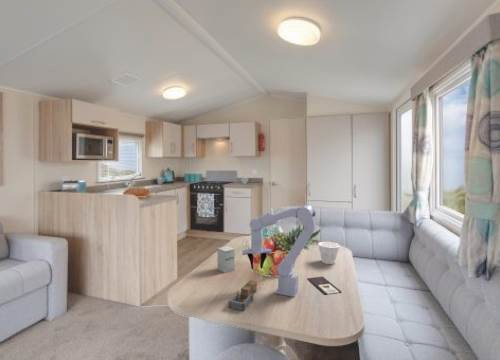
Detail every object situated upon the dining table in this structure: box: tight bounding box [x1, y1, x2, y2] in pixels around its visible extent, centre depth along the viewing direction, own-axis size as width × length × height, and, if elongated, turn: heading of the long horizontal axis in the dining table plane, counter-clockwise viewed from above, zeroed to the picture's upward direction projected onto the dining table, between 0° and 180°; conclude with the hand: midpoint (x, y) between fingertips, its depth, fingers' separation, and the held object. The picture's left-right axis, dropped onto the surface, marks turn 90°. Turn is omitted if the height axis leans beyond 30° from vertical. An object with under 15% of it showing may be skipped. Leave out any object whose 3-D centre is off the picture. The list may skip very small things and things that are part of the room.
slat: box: [240, 280, 258, 301], centre depth 135 cm, size 10×4×5 cm, turn 155°
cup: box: [318, 241, 340, 265], centre depth 178 cm, size 12×12×11 cm
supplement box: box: [217, 245, 236, 273], centre depth 165 cm, size 7×7×13 cm
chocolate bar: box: [307, 276, 342, 296], centre depth 146 cm, size 9×1×18 cm
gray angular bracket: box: [228, 291, 254, 312], centre depth 127 cm, size 8×10×3 cm
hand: (256, 268), depth 144 cm, fingers open, 4 cm apart
